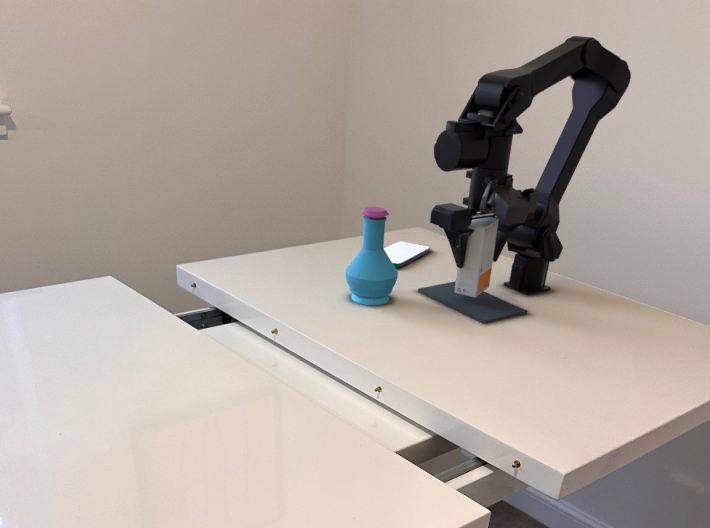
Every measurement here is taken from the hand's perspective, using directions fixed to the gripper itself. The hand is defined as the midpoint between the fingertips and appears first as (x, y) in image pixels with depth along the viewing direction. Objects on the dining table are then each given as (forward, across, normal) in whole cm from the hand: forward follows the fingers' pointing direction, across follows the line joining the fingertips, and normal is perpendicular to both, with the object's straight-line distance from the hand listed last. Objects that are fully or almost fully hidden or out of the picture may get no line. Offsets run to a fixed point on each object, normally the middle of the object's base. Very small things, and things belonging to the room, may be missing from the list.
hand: (476, 264), depth 124 cm
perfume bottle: (+7, -15, +10) cm, 19 cm away
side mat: (+7, 0, 0) cm, 7 cm away
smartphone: (+7, +5, +28) cm, 29 cm away
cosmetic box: (+5, 0, 0) cm, 5 cm away
